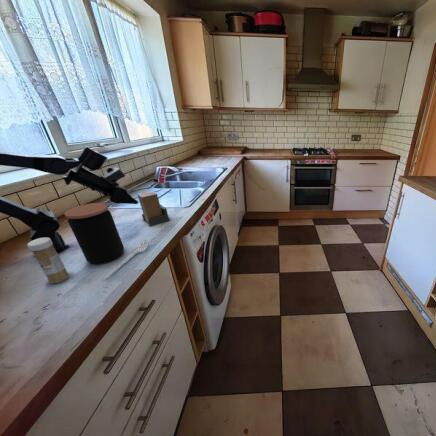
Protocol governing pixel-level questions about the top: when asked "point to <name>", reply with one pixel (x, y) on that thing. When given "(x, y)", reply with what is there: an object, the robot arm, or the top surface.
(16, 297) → the top surface
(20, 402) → the top surface
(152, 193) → the brown box
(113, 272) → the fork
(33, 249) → the sprinkles bottle
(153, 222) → the cradle
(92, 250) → the coffee jar
